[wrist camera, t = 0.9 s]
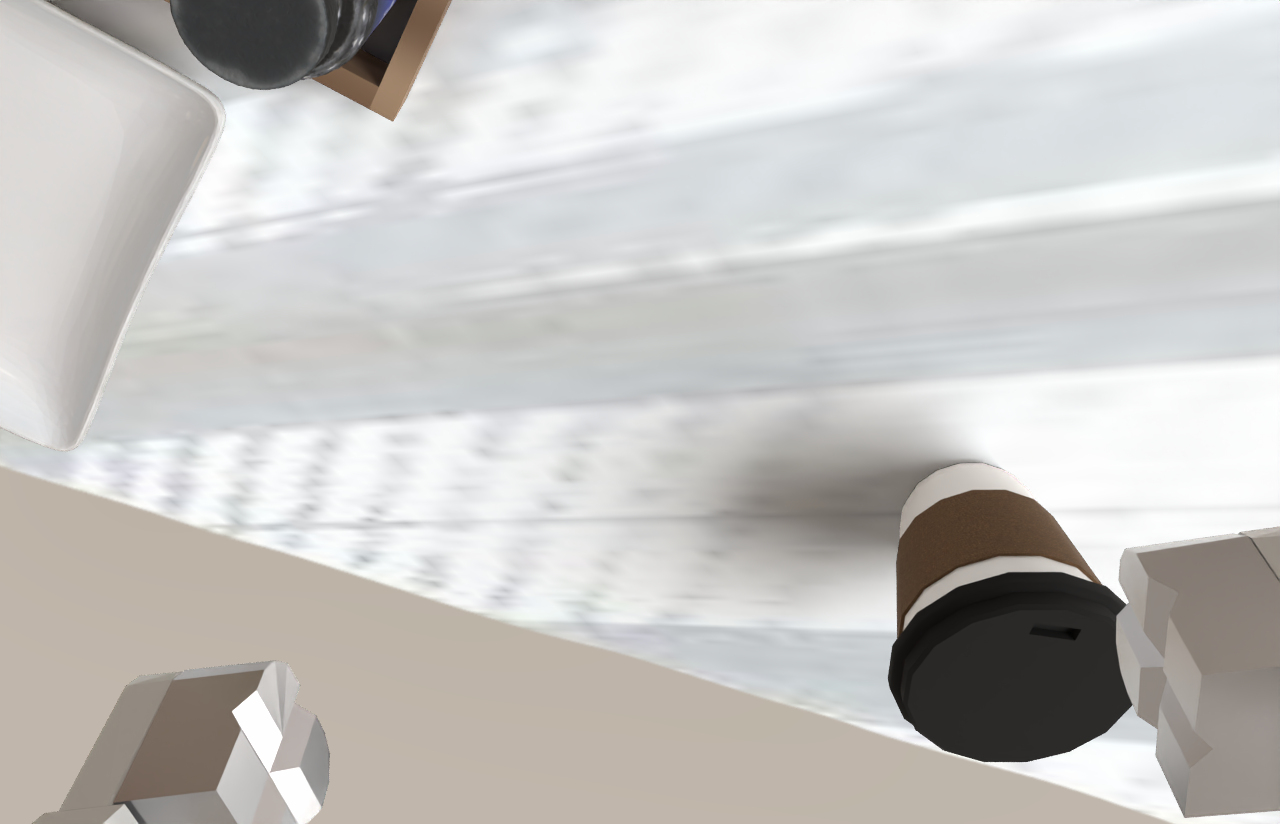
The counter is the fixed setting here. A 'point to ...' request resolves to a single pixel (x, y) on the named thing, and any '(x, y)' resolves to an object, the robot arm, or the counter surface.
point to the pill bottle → (275, 36)
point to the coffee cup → (999, 623)
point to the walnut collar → (389, 82)
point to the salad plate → (83, 206)
